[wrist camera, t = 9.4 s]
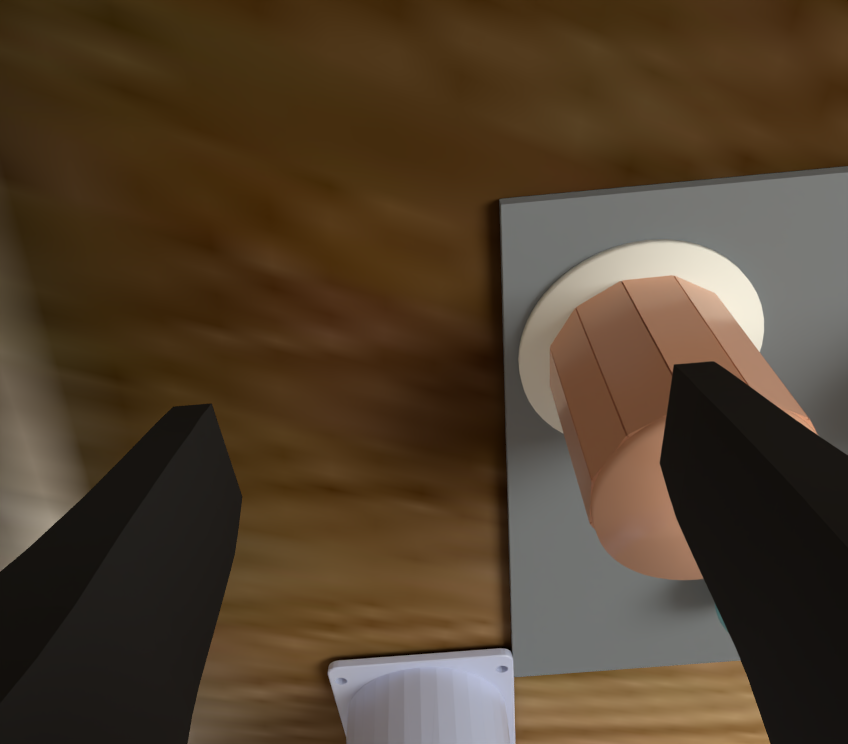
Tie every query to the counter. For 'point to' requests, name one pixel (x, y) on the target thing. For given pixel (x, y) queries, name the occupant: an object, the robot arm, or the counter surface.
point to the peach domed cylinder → (642, 406)
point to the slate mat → (537, 415)
